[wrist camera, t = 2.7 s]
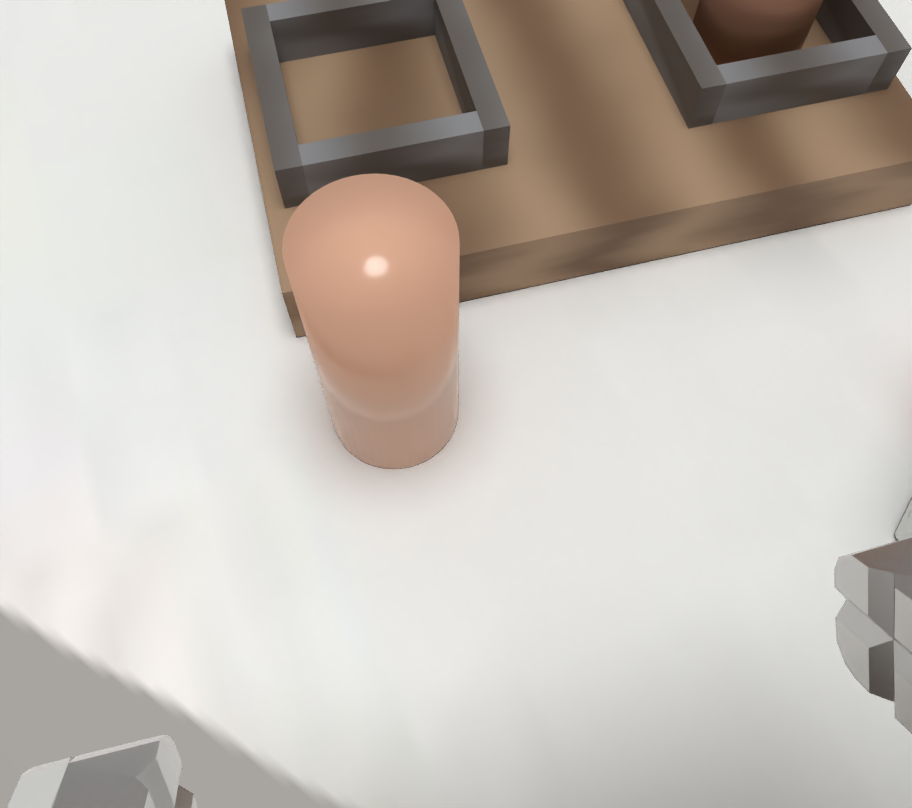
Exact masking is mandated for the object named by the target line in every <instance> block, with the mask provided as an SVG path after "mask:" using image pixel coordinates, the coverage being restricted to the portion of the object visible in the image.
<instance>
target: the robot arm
mask: <svg viewBox="0 0 912 808" xmlns="http://www.w3.org/2000/svg"><path fill="white" fill-rule="evenodd" d="M834 581H835V588H836V589H837V590H838V591H839V592H840V593H841V594H842V595H843V596H844V597H845V598H846V601H845V603H844V604H843V606H842V608H841V610H840V611H839V613H838V615H837V616H836V618H835V620H836V634H837V643H838V646H839V648H840V651H841V654H842V656H843V659H844V662H845V664H846V665H847V667H848V668H849V670H850V671H851V673H852V674H853V676H854V677H855V679H856V680H857V681H858V682H859V683H860V684H861V685H862V686H863V687H864V688H865V689H866V690H867V691H868V692H869V693H871V694H874V695H877V696H880V697H882V698H885V699H888V700H891V701H894V711H895V718H896V719H897V720H898V721H899V722H900V723H901V724H902V725H903V726H904V727H905V728H906V729H907V730H908V731H909V732H910V733H912V537H910V538H907V539H903V540H899V541H896V542H892V543H888V544H885V545H881V546H878V547H874V548H870V549H867V550H863V551H859V552H856V553H852V554H848V555H845V556H841V557H839V558H838V561H837V563H836V566H835V569H834ZM181 767H182V761H181V758H180V756H179V754H178V751H177V748H176V746H175V743H174V741H173V739H171V738H170V737H169V736H167V735H166V734H165V735H161V736H156V737H152V738H148V739H144V740H140V741H136V742H132V743H127V744H123V745H120V746H115V747H111V748H107V749H103V750H99V751H94V752H91V753H86V754H82V755H78V756H76V757H74V758H73V757H70V758H67V759H63V760H59V761H55V762H51V763H47V764H44V765H40V766H36V767H32V768H30V769H29V770H27V771H26V772H25V773H23V774H22V775H21V777H20V778H19V780H18V783H17V785H16V787H15V789H14V792H13V794H12V796H11V798H10V801H9V803H8V805H7V807H6V808H198V806H197V803H196V800H195V797H194V794H193V793H191V792H189V791H188V790H186V789H185V788H183V787H181V786H180V785H178V783H179V778H180V772H181Z"/></svg>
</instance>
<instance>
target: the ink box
mask: <svg viewBox="0 0 912 808" xmlns="http://www.w3.org/2000/svg"><path fill="white" fill-rule="evenodd" d="M895 536H896V538H897V539H898V540H903V539H907V538H910V537H912V499H911V501H910V503H909V505H908V508H907V510H906V512H905V514H904V516H903V518H902V520H901V522H900V524H899V526H898V528H897V530H896V532H895Z"/></svg>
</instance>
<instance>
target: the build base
mask: <svg viewBox="0 0 912 808" xmlns="http://www.w3.org/2000/svg"><path fill="white" fill-rule="evenodd" d="M225 4H226V10H227V15H228V20H229V25H230V30H231V35H232V40H233V45H234V50H235V56H236V61H237V66H238V71H239V76H240V81H241V86H242V91H243V96H244V101H245V107H246V112H247V117H248V122H249V127H250V132H251V137H252V142H253V147H254V152H255V158H256V163H257V168H258V173H259V178H260V183H261V188H262V193H263V198H264V204H265V209H266V214H267V219H268V224H269V229H270V234H271V239H272V244H273V249H274V255H275V260H276V265H277V270H278V275H279V280H280V285H281V290H282V294H283V297H284V300H285V304H286V307H287V310H288V313H289V316H290V319H291V322H292V325H293V328H294V331H295V334H296V337H300V336H305V335H306V333H305V330H304V327H303V323H302V320H301V317H300V314H299V310H298V307H297V304H296V301H295V298H294V294H293V291H292V288H291V285H290V281H289V278H288V275H287V272H286V268H285V265H284V261H283V255H282V241H283V236H284V231H285V229H286V226H287V223H288V221H289V220H290V218H291V216H292V214H293V213H294V212H295V210H296V209H297V208H298V206H299V205H300V204H301V203H302V202H303V201H304V200H305V199H306V198H307V197H309V196H310V195H311V194H312V193H314V192H315V191H317V190H318V189H320V188H322V187H323V186H325V185H327V184H329V183H331V182H334V181H337V180H339V179H342V178H346V177H350V176H354V175H361V174H389V175H395V176H399V177H403V178H407V179H410V180H412V181H415V182H417V183H419V184H421V185H423V186H425V187H427V188H428V189H429V190H431V191H432V192H434V193H435V194H436V195H437V196H438V197H439V198H440V199H442V200H443V202H444V203H445V204H446V205H447V207H448V208H449V209H450V211H451V213H452V214H453V216H454V219H455V221H456V224H457V227H458V231H459V241H460V259H459V302H462V301H467V300H471V299H476V298H481V297H485V296H490V295H495V294H499V293H504V292H508V291H513V290H518V289H522V288H527V287H532V286H536V285H541V284H546V283H550V282H555V281H559V280H564V279H569V278H573V277H578V276H583V275H587V274H592V273H596V272H601V271H606V270H610V269H615V268H620V267H624V266H629V265H633V264H638V263H643V262H647V261H652V260H657V259H661V258H666V257H671V256H675V255H680V254H684V253H689V252H694V251H698V250H703V249H708V248H712V247H717V246H721V245H726V244H731V243H735V242H740V241H745V240H749V239H754V238H758V237H763V236H768V235H772V234H777V233H782V232H786V231H791V230H795V229H800V228H805V227H809V226H814V225H819V224H823V223H828V222H833V221H837V220H842V219H846V218H851V217H856V216H860V215H865V214H870V213H874V212H879V211H883V210H888V209H893V208H897V207H902V206H907V205H911V204H912V98H911V97H910V95H909V94H908V92H907V91H906V90H905V88H904V87H903V85H902V84H901V82H900V81H899V79H898V78H897V76H896V74H897V72H898V71H899V69H900V67H901V65H902V64H903V62H904V60H905V59H906V57H907V55H908V54H909V52H910V50H911V49H912V48H911V46H910V45H909V44H908V42H907V41H906V39H905V38H904V37H903V35H902V34H901V32H900V31H899V30H898V28H897V27H896V25H895V24H894V23H893V21H892V20H891V18H890V17H889V16H888V14H887V13H886V11H885V10H884V9H883V7H882V6H881V4H880V3H879V2H878V0H225Z"/></svg>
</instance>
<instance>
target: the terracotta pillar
mask: <svg viewBox="0 0 912 808" xmlns="http://www.w3.org/2000/svg"><path fill="white" fill-rule="evenodd" d="M282 255H283V261H284V265H285V268H286V272H287V275H288V278H289V281H290V285H291V288H292V291H293V294H294V298H295V301H296V304H297V307H298V310H299V314H300V317H301V320H302V323H303V327H304V330H305V333H306V336H307V340H308V343H309V346H310V349H311V352H312V356H313V359H314V362H315V365H316V369H317V372H318V375H319V378H320V382H321V385H322V388H323V391H324V394H325V398H326V401H327V404H328V407H329V411H330V414H331V417H332V420H333V424H334V427H335V430H336V433H337V435H338V437H339V439H340V441H341V442H342V444H343V445H344V447H345V448H346V449H347V450H348V451H349V452H350V453H351V454H352V455H354V456H355V457H356V458H358V459H359V460H361V461H363V462H365V463H367V464H369V465H372V466H376V467H380V468H386V469H402V468H407V467H412V466H415V465H418V464H420V463H423V462H425V461H427V460H429V459H430V458H432V457H433V456H435V455H436V454H437V453H438V452H440V451H441V450H442V448H443V447H444V446H445V445H446V444H447V443H448V441H449V440H450V438H451V436H452V434H453V432H454V430H455V427H456V424H457V420H458V385H459V259H460V241H459V231H458V227H457V224H456V221H455V219H454V216H453V214H452V213H451V211H450V209H449V208H448V207H447V205H446V204H445V203H444V202H443V200H442V199H440V198H439V197H438V196H437V195H436V194H435V193H434V192H432V191H431V190H429V189H428V188H427V187H425V186H423V185H421V184H419V183H417V182H415V181H412V180H410V179H407V178H403V177H399V176H395V175H389V174H361V175H354V176H350V177H346V178H342V179H339V180H337V181H334V182H331V183H329V184H327V185H325V186H323V187H322V188H320V189H318V190H317V191H315V192H314V193H312V194H311V195H310V196H309V197H307V198H306V199H305V200H304V201H303V202H302V203H301V204H300V205H299V206H298V208H297V209H296V210H295V212H294V213H293V214H292V216H291V218H290V220H289V221H288V223H287V226H286V229H285V231H284V236H283V241H282Z"/></svg>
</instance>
